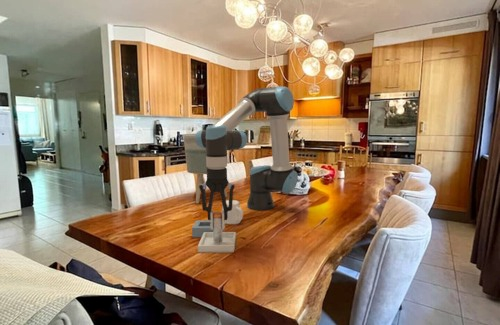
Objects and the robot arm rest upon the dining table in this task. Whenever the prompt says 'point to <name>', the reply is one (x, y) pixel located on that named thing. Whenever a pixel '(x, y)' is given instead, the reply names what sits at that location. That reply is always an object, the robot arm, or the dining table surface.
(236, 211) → the mug
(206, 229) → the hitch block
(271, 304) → the dining table surface
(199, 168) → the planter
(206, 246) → the tray
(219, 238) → the spice jar
